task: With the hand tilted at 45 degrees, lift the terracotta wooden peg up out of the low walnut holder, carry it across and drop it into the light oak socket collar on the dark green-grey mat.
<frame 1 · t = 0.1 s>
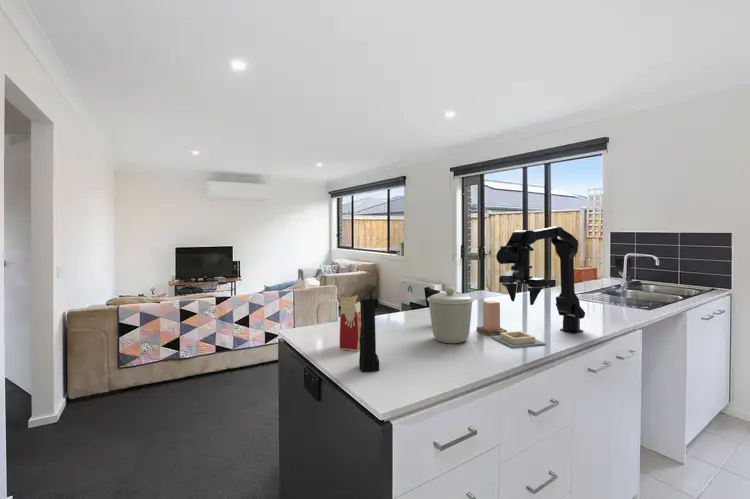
hand: (522, 303, 141), 15 cm above the worktop, tool pointing down, fingers open, 9 cm apart
canister: (450, 340, 144), on the worktop
portable radio: (368, 368, 115), on the worktop
milk carton: (352, 348, 136), on the worktop
beer glass: (446, 324, 169), on the worktop
peg: (491, 317, 154), in the holder
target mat: (517, 341, 140), on the worktop
holder: (491, 332, 154), on the worktop
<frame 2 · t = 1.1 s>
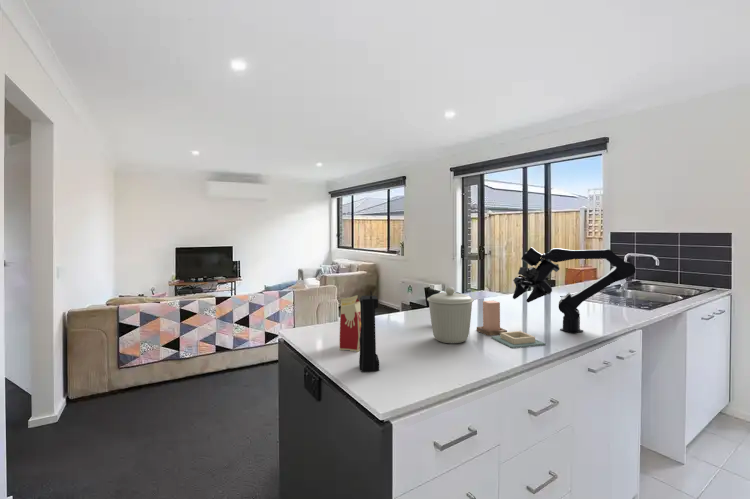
hand: (520, 300, 154), 13 cm above the worktop, tool tilted 45°, fingers open, 9 cm apart
nothing on the worktop moved.
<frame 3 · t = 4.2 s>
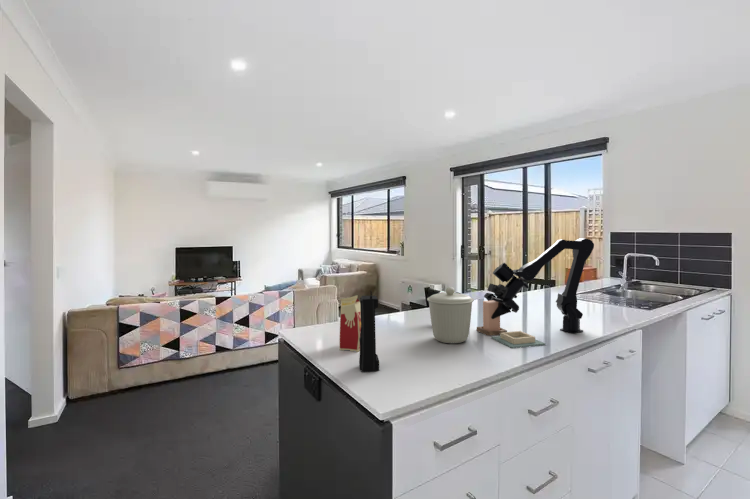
hand: (488, 316, 153), 7 cm above the worktop, tool tilted 45°, fingers closed on peg, 5 cm apart
peg: (491, 316, 153), in the holder, touching gripper
everything else where it was.
when the fingers open (8 cm above the worktop, at t = 9.4 s): peg stays where it is, resting on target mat.
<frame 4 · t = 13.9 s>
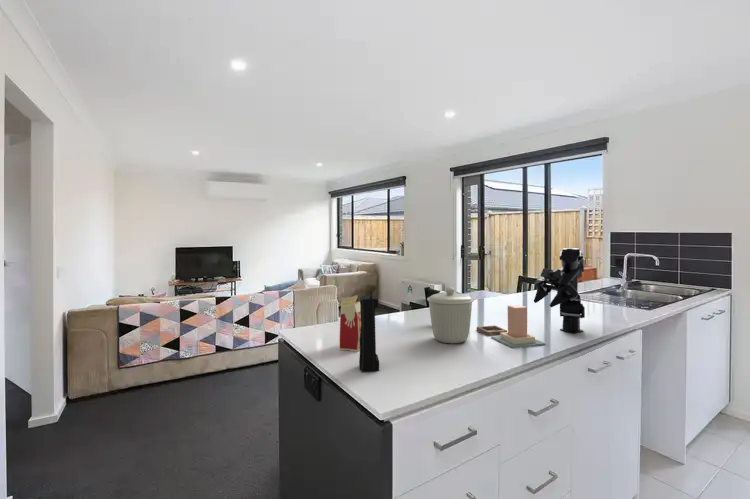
hand: (542, 304, 143), 14 cm above the worktop, tool tilted 45°, fingers open, 9 cm apart
peg: (517, 323, 140), in the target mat, point 7 cm above the worktop
everything else where it was.
at the end: peg 0.0 cm off-centre on the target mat, point 7.1 cm above the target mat's base; peg tilted 0°; the gripper is holding nothing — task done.
